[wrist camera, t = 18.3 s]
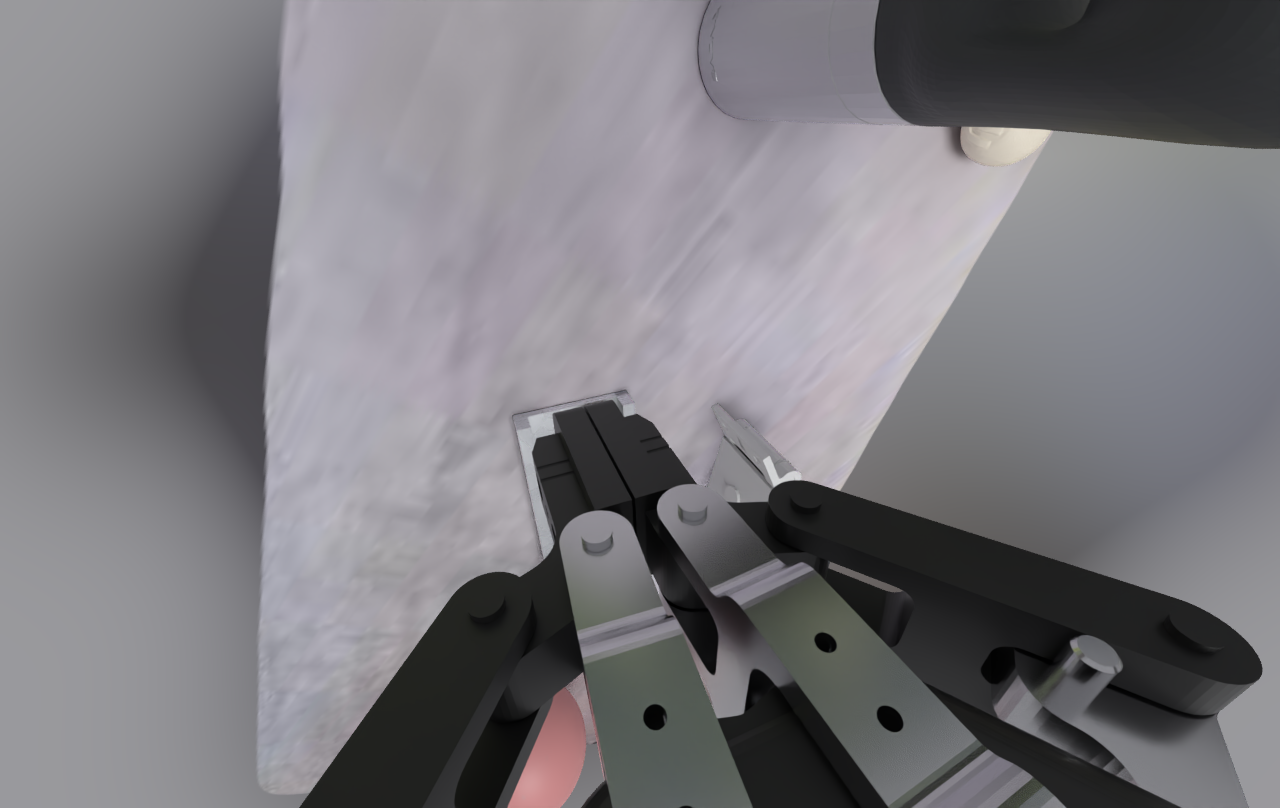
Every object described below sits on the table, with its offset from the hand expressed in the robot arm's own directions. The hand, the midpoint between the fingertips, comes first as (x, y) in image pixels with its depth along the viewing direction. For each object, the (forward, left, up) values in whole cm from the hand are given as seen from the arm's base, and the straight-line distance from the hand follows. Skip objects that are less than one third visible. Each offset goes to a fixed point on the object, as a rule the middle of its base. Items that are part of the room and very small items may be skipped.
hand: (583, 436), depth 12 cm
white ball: (-47, -4, -29) cm, 56 cm away
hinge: (-22, +28, -29) cm, 46 cm away
